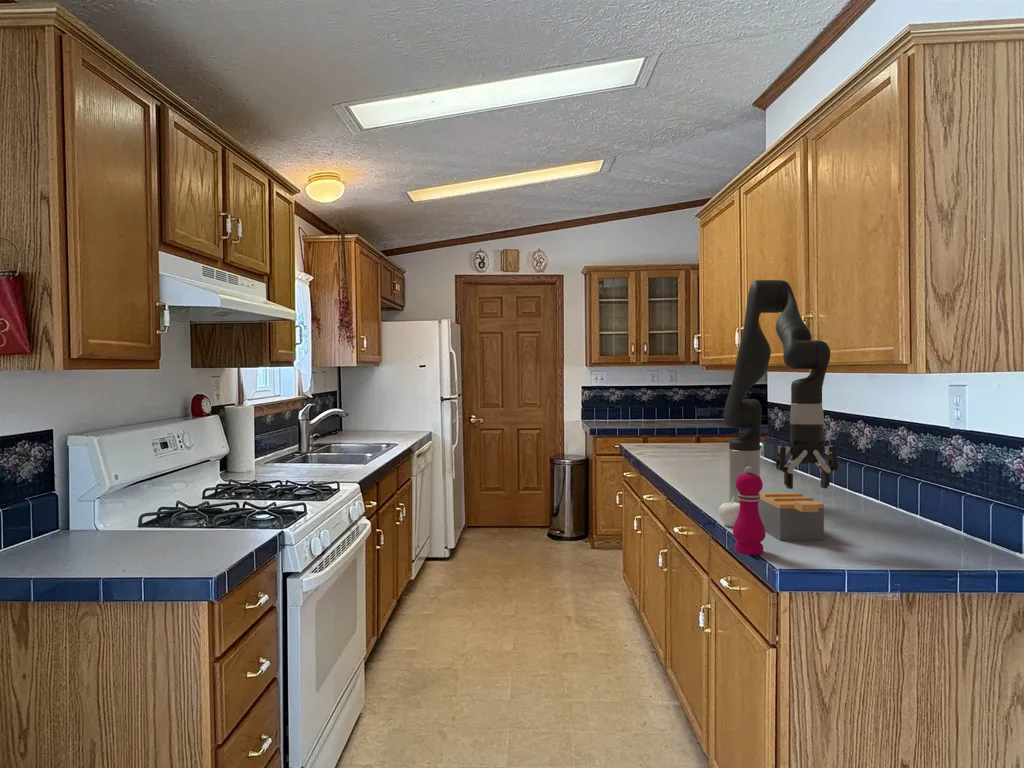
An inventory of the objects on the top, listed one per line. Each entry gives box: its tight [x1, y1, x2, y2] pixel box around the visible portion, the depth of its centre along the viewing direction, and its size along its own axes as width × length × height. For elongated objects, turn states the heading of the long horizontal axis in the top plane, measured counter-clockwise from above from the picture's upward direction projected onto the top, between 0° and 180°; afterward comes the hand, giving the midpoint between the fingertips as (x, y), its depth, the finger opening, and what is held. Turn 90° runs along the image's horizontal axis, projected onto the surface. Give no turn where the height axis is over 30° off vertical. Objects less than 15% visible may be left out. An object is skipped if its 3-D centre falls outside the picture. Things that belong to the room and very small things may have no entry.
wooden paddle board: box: [759, 492, 825, 512], centre depth 176 cm, size 20×11×3 cm, turn 1°
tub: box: [758, 499, 825, 541], centre depth 178 cm, size 16×11×8 cm
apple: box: [718, 497, 740, 528], centre depth 187 cm, size 7×7×8 cm
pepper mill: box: [732, 466, 766, 556], centre depth 160 cm, size 7×7×20 cm
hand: (806, 488), depth 168 cm, fingers open, 8 cm apart
